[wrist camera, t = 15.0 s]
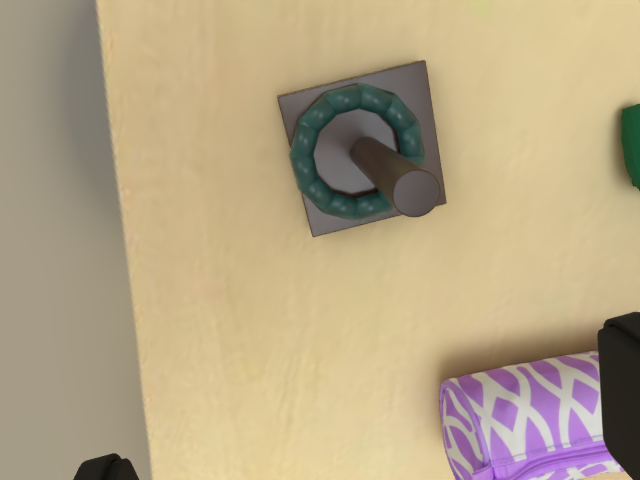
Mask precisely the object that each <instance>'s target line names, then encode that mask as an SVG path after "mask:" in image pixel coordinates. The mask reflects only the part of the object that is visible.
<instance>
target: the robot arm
mask: <svg viewBox="0 0 640 480" xmlns="http://www.w3.org/2000/svg"><path fill="white" fill-rule="evenodd" d="M598 356H599V374H600V393H601V412H602V430H603V440H604V443H605V446H606V448H607V450H608V451H609V453H610V455H611V456H612V457H613V458H614V459H615V460H616V462H617V463H618V464H619V465H620V466H621V467H622V468H623V469H624V470H625V471H626V472H627V474H628V475H629V476H630V477H631V478H632V479H633V480H640V312H633V313H629V314H625V315H622V316H618V317H614V318H611V319H608V320H606V321H605V323H604V327H603V329H601V330H599V332H598ZM73 480H139V478H138V476H137V474H136V472H135V470H134V468H133V466H132V464H131V462H130V460H128V459H121V458H120V456H119V455H117V454H114V453H113V454H109V455H106V456H102V457H98V458H94V459H91V460H87V461H85V462H83V463H82V464H81V466H80V467H79V469H78V471H77V473H76V475H75V477H74V479H73Z"/></svg>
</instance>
